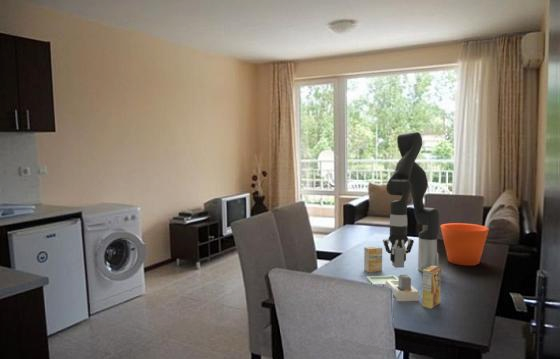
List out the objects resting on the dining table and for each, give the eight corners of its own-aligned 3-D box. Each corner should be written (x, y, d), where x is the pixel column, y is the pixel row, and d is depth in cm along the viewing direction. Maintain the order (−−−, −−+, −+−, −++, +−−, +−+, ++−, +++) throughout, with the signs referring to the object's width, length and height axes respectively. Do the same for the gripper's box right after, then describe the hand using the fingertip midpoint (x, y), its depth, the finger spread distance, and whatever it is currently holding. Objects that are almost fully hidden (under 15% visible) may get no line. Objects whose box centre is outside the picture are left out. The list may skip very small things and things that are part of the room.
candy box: (430, 300, 173) (431, 265, 172) (440, 303, 170) (441, 266, 169) (421, 306, 167) (422, 269, 166) (432, 309, 164) (432, 271, 163)
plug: (400, 265, 186) (401, 246, 186) (403, 267, 182) (404, 248, 182) (392, 265, 186) (392, 246, 185) (395, 267, 182) (395, 248, 181)
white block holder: (385, 288, 189) (385, 268, 188) (404, 288, 189) (405, 267, 188) (397, 301, 173) (397, 279, 172) (418, 300, 173) (418, 278, 172)
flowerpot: (437, 264, 227) (437, 229, 226) (442, 254, 249) (442, 221, 248) (487, 270, 215) (488, 232, 214) (488, 258, 237) (489, 224, 236)
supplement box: (368, 274, 211) (368, 249, 210) (363, 271, 216) (363, 247, 215) (382, 272, 213) (382, 247, 212) (378, 270, 218) (378, 245, 217)
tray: (394, 279, 202) (394, 275, 202) (403, 287, 190) (403, 283, 190) (366, 280, 201) (366, 276, 201) (373, 288, 189) (373, 284, 189)
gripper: (411, 222, 187) (410, 259, 188) (380, 223, 186) (380, 260, 187) (417, 225, 179) (416, 264, 181) (385, 225, 179) (384, 264, 180)
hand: (398, 261), depth 184 cm, fingers closed on plug, 4 cm apart
